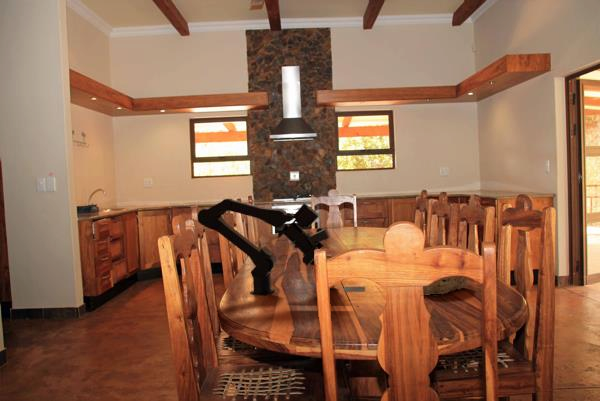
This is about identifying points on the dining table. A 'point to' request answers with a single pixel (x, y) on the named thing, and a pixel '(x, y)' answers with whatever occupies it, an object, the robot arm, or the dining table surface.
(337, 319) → the dining table surface
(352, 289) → the stamping board
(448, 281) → the rock
